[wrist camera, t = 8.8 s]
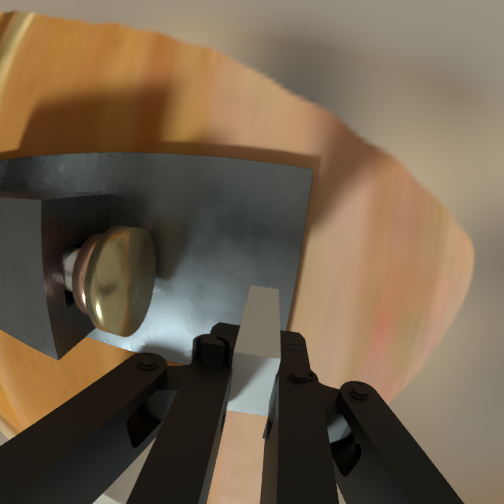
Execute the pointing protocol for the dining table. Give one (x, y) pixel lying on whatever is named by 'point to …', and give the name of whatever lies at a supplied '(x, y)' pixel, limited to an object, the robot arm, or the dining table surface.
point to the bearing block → (163, 236)
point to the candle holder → (124, 482)
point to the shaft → (112, 278)
